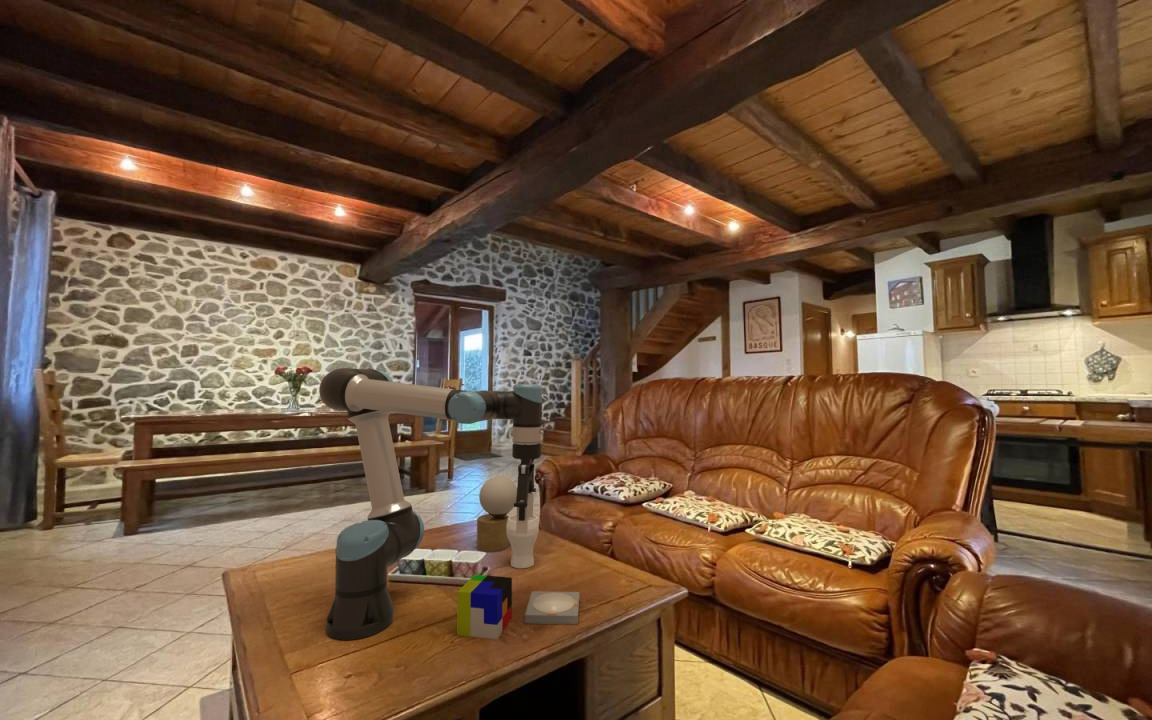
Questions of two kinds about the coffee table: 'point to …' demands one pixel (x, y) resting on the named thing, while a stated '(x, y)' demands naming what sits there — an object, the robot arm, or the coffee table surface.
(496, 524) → the lamp
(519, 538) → the cup
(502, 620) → the puzzle toy
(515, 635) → the coffee table surface
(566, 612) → the plinth
